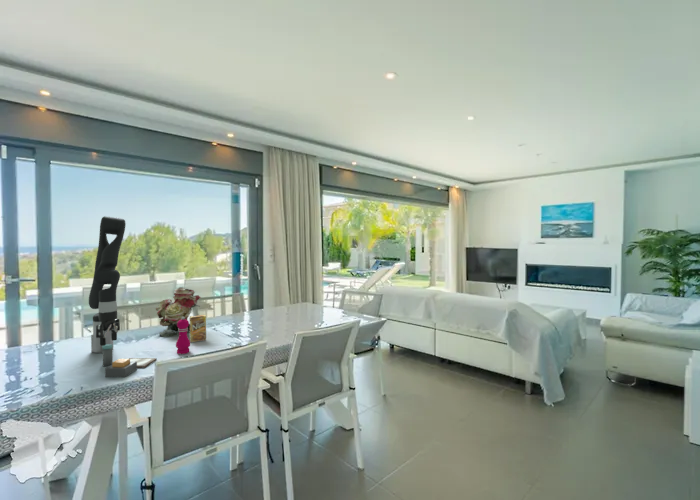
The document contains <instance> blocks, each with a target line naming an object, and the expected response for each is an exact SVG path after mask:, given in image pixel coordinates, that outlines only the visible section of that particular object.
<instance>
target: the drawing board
mask: <svg viewBox="0 0 700 500" xmlns="http://www.w3.org/2000/svg"><path fill="white" fill-rule="evenodd" d="M128 359H130V361H137V369H145V368H147V367H149V366H150V365H151V364H153V363H154V362H156V361H157V358H156V357H155V358H154V357H145V358H144V357H129V358H128Z"/></svg>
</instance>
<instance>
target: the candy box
mask: <svg viewBox="0 0 700 500" xmlns="http://www.w3.org/2000/svg"><path fill="white" fill-rule="evenodd" d="M189 324H190V334H189V340H190V343H196V342H202V341H207V315H205V314H201V315H200V314H198V315H193V316H190V315H189Z"/></svg>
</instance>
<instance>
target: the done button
mask: <svg viewBox="0 0 700 500" xmlns="http://www.w3.org/2000/svg"><path fill="white" fill-rule="evenodd" d="M128 364H130V359H129V358H118V359H116V360H114V361H113V362H112V367H125V366H126V365H128Z"/></svg>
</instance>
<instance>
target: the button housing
mask: <svg viewBox="0 0 700 500" xmlns="http://www.w3.org/2000/svg"><path fill="white" fill-rule="evenodd" d="M137 370H138V368H137V361H130V364H128V365H126V366H125V367H112V365H110V366H108V367H105V368H104V377H105V378H126V377H128V376H129V375H131V374H132V373H134V372H136V371H137Z"/></svg>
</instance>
